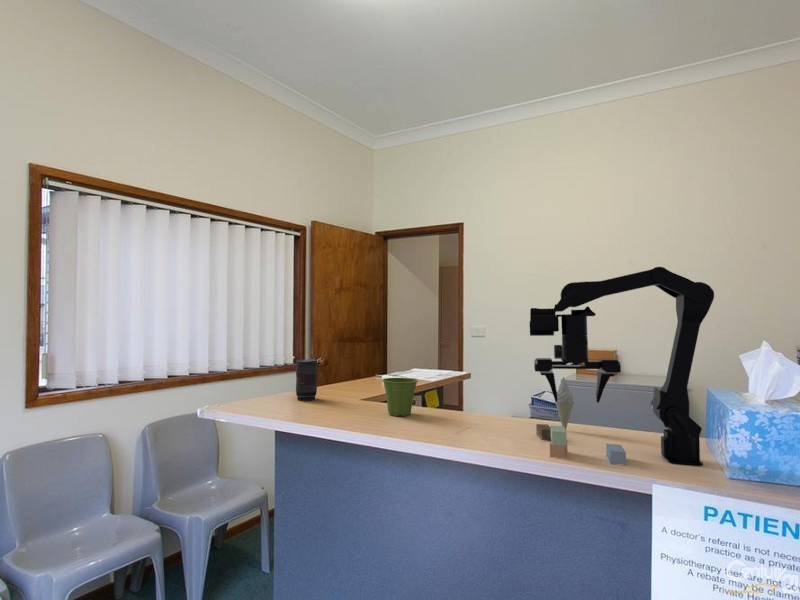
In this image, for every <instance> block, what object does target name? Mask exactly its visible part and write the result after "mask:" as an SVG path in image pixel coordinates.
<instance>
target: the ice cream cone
mask: <svg viewBox="0 0 800 600" xmlns="http://www.w3.org/2000/svg"><path fill="white" fill-rule="evenodd" d="M556 391H557V402H556V401H555V400H554V402H555V405H556V409H557V413H558V415H559V420H560V423H561V426H564V428H565V430H566V431H567V427H568V423H569V420H570V417H571V413H572V409H573V405H574V404H575V403H574V397H573V393H572V392H571V391H570V388H569V386H568V384H567V382H566V379H565V377H564V376H563V377H562V380H561V382H560V384H559V386H558V390H556Z"/></svg>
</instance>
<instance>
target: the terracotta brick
mask: <svg viewBox="0 0 800 600" xmlns="http://www.w3.org/2000/svg"><path fill="white" fill-rule="evenodd" d="M566 441H567V442H568V439H566ZM567 454H568V445H567V446H563V445H552V441H550V443H549V458H553V457H557V458H556V459H560V458H564V457H565V458H566V456H567ZM565 455H566V456H565ZM565 458H564V459H565Z"/></svg>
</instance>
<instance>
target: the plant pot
mask: <svg viewBox="0 0 800 600" xmlns="http://www.w3.org/2000/svg"><path fill="white" fill-rule="evenodd" d="M381 381H382V382H383V387H384V389H385V390H384V391H385V398H386V405H387V413H388V415H389V416H394V417H399V416H403V417H407V416H410V415H411V413H412V408H413V401H414V397H415V396H414V395H415V390H416V388H417V387H416V386H417V383H418V382H419V379H416V378H411V377H386V378H382V379H381Z"/></svg>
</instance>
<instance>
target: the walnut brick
mask: <svg viewBox="0 0 800 600" xmlns="http://www.w3.org/2000/svg"><path fill="white" fill-rule="evenodd" d="M535 428H536V430H535V431H536V433H535V434H536V436H537V437H538V438H539V439H540V441H542V440H547V441H548V440H549V441H550V442H552V441H551V425H549V424H548V423H547V424H543V423H540V424H539V423H536V424H535ZM549 441H548V442H549Z"/></svg>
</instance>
